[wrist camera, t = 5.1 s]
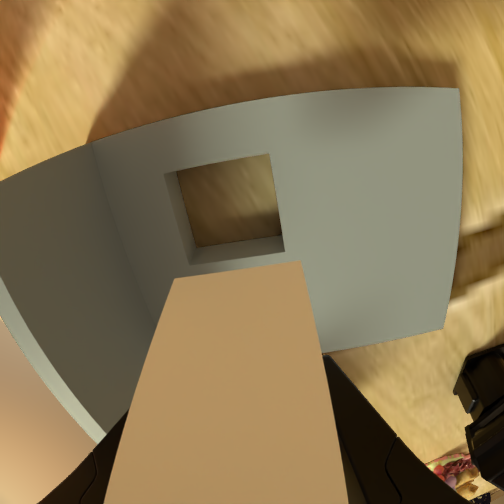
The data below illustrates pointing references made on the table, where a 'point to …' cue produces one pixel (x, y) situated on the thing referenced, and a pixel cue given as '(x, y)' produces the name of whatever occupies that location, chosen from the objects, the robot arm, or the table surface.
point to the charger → (232, 399)
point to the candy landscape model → (456, 473)
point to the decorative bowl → (482, 499)
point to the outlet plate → (236, 253)
